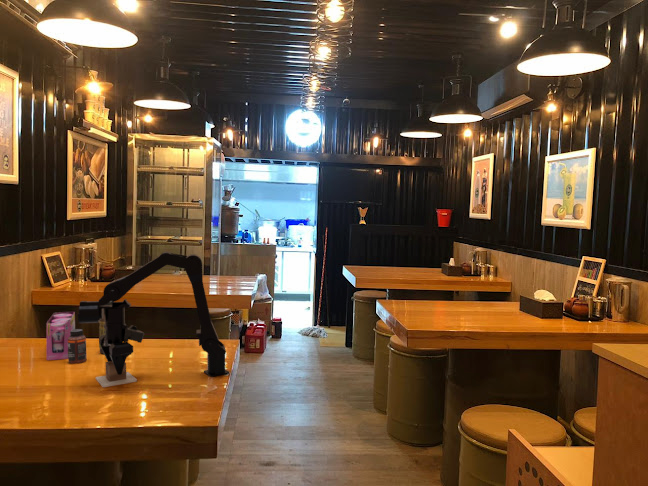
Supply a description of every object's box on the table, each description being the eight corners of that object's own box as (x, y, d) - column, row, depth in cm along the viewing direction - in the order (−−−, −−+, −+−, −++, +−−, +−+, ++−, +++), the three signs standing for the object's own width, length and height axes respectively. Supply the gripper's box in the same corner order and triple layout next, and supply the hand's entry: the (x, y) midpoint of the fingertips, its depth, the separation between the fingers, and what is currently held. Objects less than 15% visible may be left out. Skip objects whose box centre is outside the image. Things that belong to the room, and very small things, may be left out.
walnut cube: (126, 379, 164) (126, 363, 164) (109, 381, 161) (109, 365, 161) (122, 375, 168) (122, 359, 168) (105, 377, 165) (105, 362, 165)
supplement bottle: (90, 359, 188) (89, 328, 188) (80, 364, 182) (80, 332, 182) (74, 359, 189) (73, 328, 188) (64, 363, 183) (63, 331, 183)
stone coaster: (136, 381, 163) (136, 379, 163) (102, 387, 158) (102, 385, 158) (128, 373, 172) (128, 371, 172) (95, 379, 166) (95, 377, 166)
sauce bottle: (95, 353, 197) (94, 301, 196) (107, 349, 202) (106, 298, 201) (109, 355, 194) (108, 302, 193) (121, 351, 200) (120, 299, 199)
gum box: (70, 359, 189) (69, 322, 188) (45, 361, 186) (44, 323, 185) (76, 344, 211) (75, 311, 210) (54, 346, 208) (53, 312, 207)
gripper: (150, 323, 161) (150, 373, 161) (133, 314, 176) (134, 360, 177) (111, 328, 154) (113, 380, 155) (98, 318, 170) (99, 365, 170)
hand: (116, 370), depth 165 cm, fingers open, 9 cm apart
